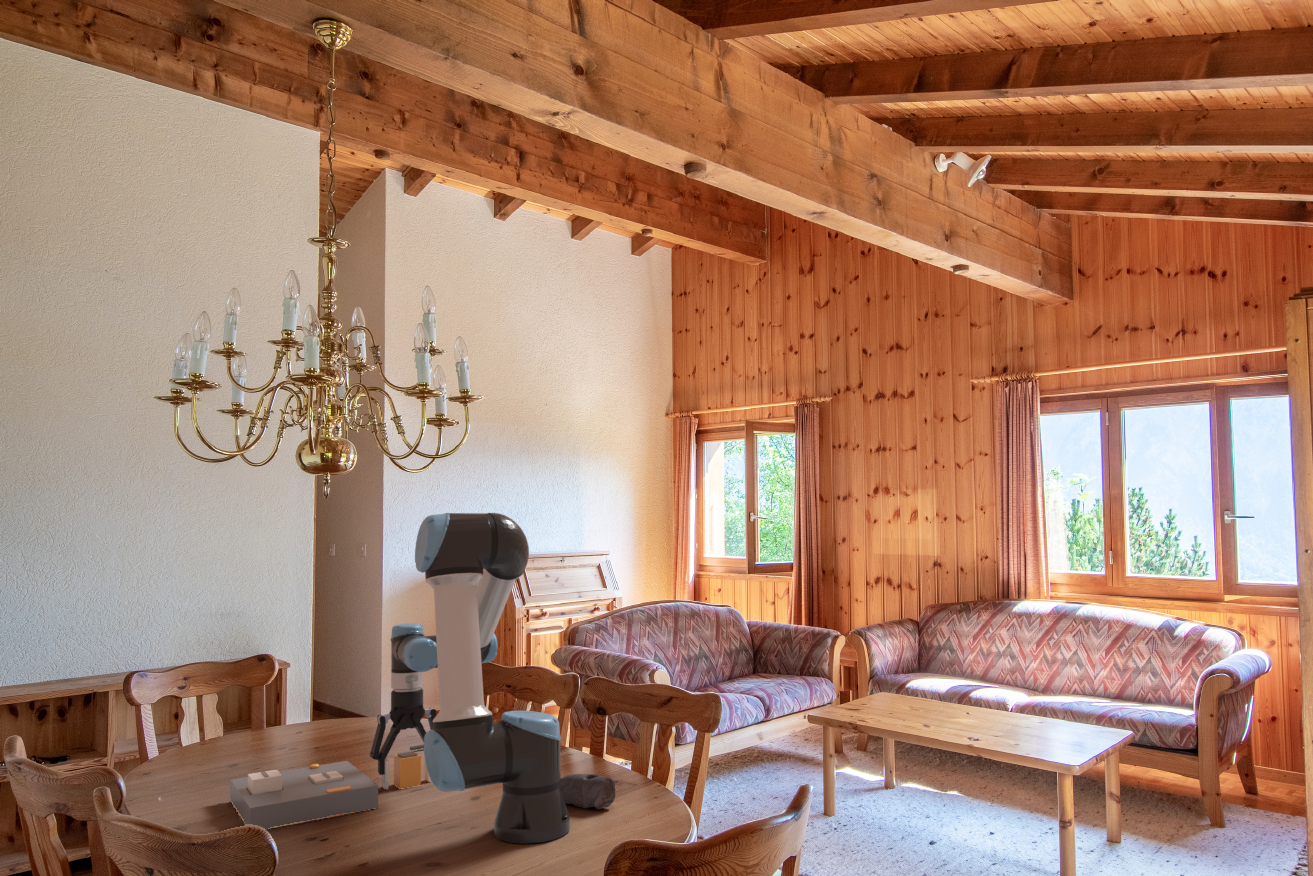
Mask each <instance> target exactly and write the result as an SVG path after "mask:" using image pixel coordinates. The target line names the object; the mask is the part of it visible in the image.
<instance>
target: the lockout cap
mask: <svg viewBox="0 0 1313 876" xmlns="http://www.w3.org/2000/svg"><path fill="white" fill-rule="evenodd" d="M395 785H396V786H397V787H399V788H400V789H401V788H407V787H412V786H417V785H421V786H422V755H421V754H419V753H417V751H414V750H409V751H403V752H398V753H397V754H393V786H395ZM396 786H395V787H396ZM397 787H396V788H397ZM399 788H398V789H399ZM412 788H413V787H412ZM400 789H399V790H400ZM407 789H408V788H407ZM401 790H402V789H401Z"/></svg>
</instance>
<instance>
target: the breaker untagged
mask: <svg viewBox="0 0 1313 876" xmlns="http://www.w3.org/2000/svg"><path fill="white" fill-rule="evenodd" d="M247 777H248V792H249V793H250V794H251V795H255V794H261V793H267V792H273V791H279V790H282V775H281V774H280V771H279V770H278V769H273V770H271V769H270V770H266V771H264V770H263V771H260V772H259V771H257V772H252V773H247Z"/></svg>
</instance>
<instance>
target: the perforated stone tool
mask: <svg viewBox="0 0 1313 876" xmlns="http://www.w3.org/2000/svg"><path fill="white" fill-rule="evenodd" d="M561 792H562V795H563V798H564V801H565V804H567V805H573V806H574V807H577V808H578V807H579V808H581V807H582V808H583V809H586V808H587V809H589V808H595V809H596V810H602V809H604V808H608V807H610V806H611V805H612V804H613V803H614V802H615V799H616V782H615V780H613V778H611V777H610V776H603V775H600V774H599V775H598V774H592V773H576V774H575V773H574V774H568V775H565V776H563V777H561ZM582 808H581V809H582Z"/></svg>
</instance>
